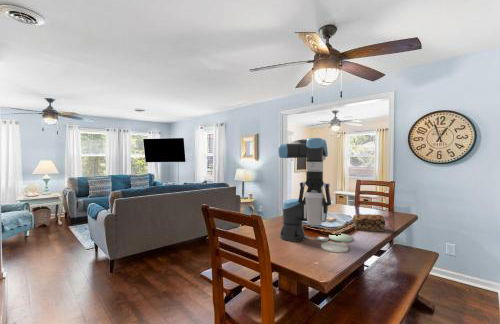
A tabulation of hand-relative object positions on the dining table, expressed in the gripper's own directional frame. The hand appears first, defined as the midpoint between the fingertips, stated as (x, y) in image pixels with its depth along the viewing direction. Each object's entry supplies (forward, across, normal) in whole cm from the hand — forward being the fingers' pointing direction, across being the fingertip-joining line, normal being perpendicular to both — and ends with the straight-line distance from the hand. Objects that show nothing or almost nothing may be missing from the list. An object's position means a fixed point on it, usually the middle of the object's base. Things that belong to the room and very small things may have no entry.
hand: (314, 218), depth 118 cm
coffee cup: (+2, 0, 0) cm, 2 cm away
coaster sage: (+20, +5, +40) cm, 45 cm away
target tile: (+20, -4, +32) cm, 38 cm away
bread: (+21, +17, +70) cm, 75 cm away
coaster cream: (+20, +5, +22) cm, 30 cm away
